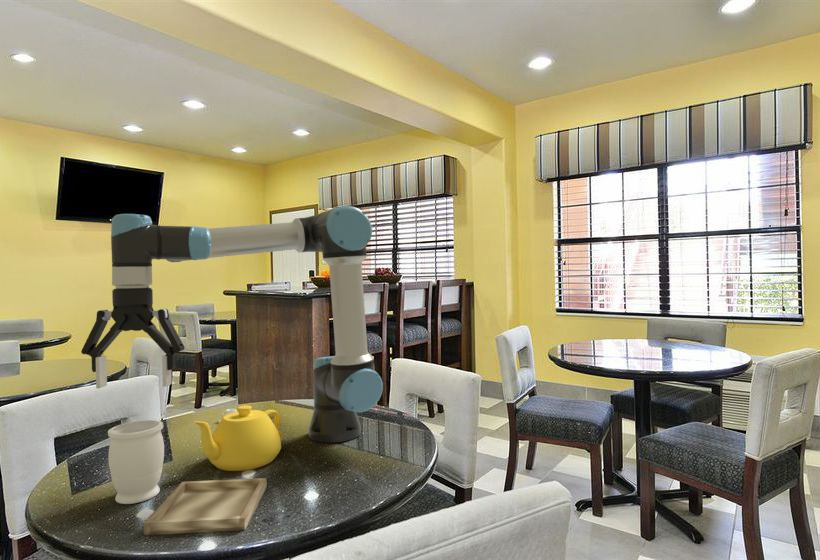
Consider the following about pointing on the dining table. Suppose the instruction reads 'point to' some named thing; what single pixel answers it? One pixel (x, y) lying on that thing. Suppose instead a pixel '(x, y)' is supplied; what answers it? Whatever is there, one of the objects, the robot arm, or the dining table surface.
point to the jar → (136, 460)
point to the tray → (207, 507)
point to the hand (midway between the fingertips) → (134, 386)
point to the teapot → (242, 439)
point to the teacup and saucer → (229, 411)
